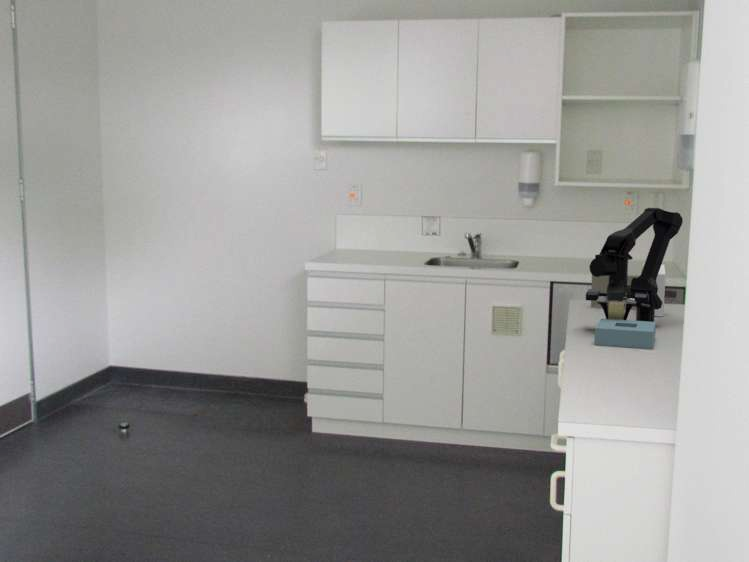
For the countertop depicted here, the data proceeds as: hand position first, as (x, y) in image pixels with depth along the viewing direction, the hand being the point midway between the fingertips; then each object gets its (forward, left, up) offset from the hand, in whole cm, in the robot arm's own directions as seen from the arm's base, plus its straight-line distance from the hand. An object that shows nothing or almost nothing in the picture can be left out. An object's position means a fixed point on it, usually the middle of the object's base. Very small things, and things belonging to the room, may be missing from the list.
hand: (616, 323), depth 248 cm
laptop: (-48, -4, -3) cm, 48 cm away
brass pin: (0, 0, -2) cm, 2 cm away
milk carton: (-34, +9, -3) cm, 35 cm away
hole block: (+15, +4, -2) cm, 16 cm away
